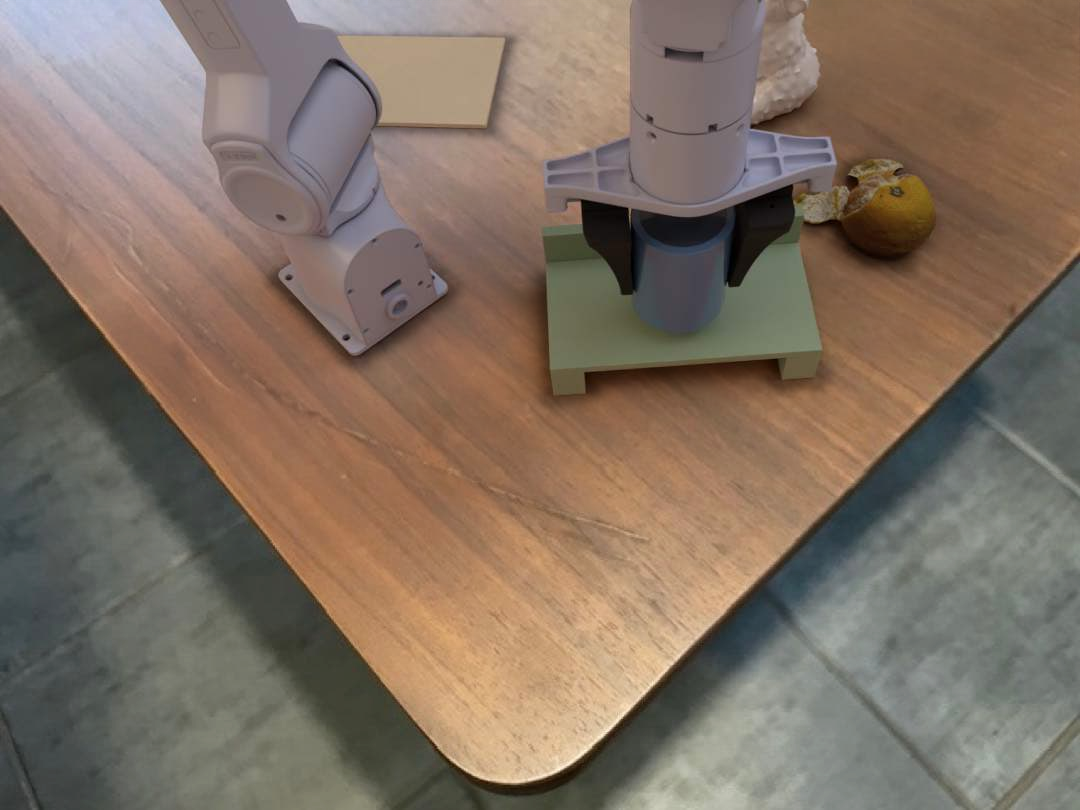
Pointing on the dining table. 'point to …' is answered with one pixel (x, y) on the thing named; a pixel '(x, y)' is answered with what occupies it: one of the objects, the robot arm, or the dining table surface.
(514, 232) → the dining table surface
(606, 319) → the shelf
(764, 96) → the seated beast figurine
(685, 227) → the cup
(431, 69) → the mat
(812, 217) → the fruit
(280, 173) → the robot arm
